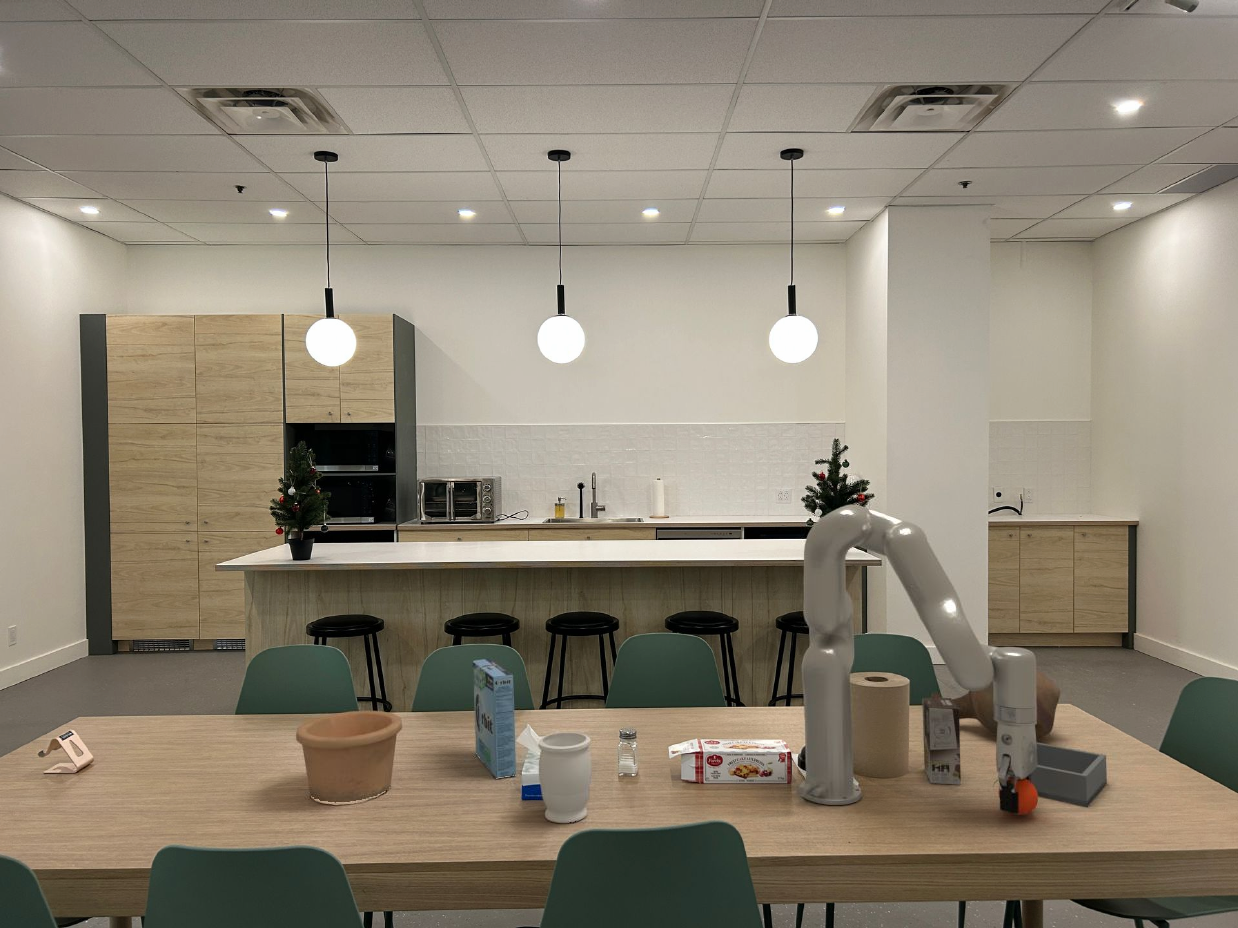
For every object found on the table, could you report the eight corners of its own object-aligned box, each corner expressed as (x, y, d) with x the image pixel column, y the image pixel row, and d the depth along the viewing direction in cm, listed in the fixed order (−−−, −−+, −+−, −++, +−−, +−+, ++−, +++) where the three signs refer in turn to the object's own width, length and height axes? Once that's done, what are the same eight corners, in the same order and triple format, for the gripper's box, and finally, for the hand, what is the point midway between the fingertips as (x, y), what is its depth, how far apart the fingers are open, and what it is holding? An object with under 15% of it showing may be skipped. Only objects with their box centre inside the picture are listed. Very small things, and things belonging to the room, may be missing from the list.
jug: (1076, 736, 209) (952, 737, 226) (1061, 655, 214) (941, 662, 232) (1058, 741, 193) (926, 741, 211) (1043, 653, 199) (916, 661, 216)
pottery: (278, 793, 183) (277, 726, 183) (370, 766, 199) (368, 704, 199) (328, 819, 168) (327, 747, 168) (423, 787, 184) (421, 721, 184)
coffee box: (962, 785, 179) (960, 708, 179) (930, 783, 180) (928, 707, 180) (954, 770, 188) (952, 697, 188) (923, 768, 189) (921, 696, 189)
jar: (572, 830, 160) (570, 751, 161) (528, 819, 166) (527, 742, 166) (602, 810, 169) (601, 735, 170) (560, 801, 175) (559, 728, 175)
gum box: (516, 776, 190) (514, 674, 190) (494, 780, 188) (492, 676, 188) (494, 751, 208) (492, 657, 208) (474, 754, 206) (472, 659, 206)
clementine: (993, 816, 161) (993, 779, 161) (991, 803, 168) (991, 767, 168) (1040, 822, 158) (1040, 784, 158) (1036, 808, 165) (1035, 771, 165)
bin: (1087, 807, 166) (1086, 776, 166) (1001, 788, 177) (1000, 759, 177) (1106, 783, 178) (1106, 754, 178) (1025, 767, 188) (1024, 740, 188)
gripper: (1021, 727, 154) (1022, 825, 154) (1049, 706, 167) (1050, 797, 167) (978, 719, 159) (979, 814, 159) (1009, 700, 172) (1010, 788, 172)
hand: (1015, 804), depth 163 cm, fingers closed on clementine, 6 cm apart
